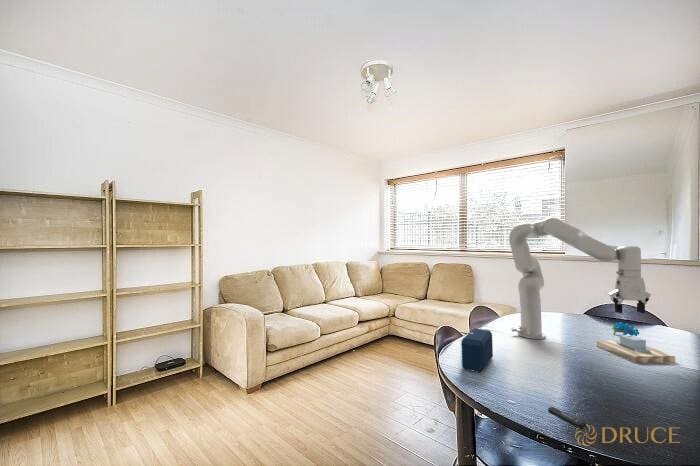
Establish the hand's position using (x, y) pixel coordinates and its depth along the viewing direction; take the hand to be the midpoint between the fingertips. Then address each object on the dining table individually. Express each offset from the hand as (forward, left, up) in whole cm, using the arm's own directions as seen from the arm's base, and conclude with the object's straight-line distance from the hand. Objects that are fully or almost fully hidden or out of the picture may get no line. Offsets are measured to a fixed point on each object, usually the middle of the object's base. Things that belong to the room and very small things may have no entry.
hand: (629, 312), depth 136 cm
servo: (0, 0, -18) cm, 18 cm away
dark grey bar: (-62, -49, -19) cm, 81 cm away
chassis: (0, 0, -18) cm, 18 cm away
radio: (-71, -10, -18) cm, 74 cm away
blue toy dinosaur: (+18, +24, -18) cm, 35 cm away
